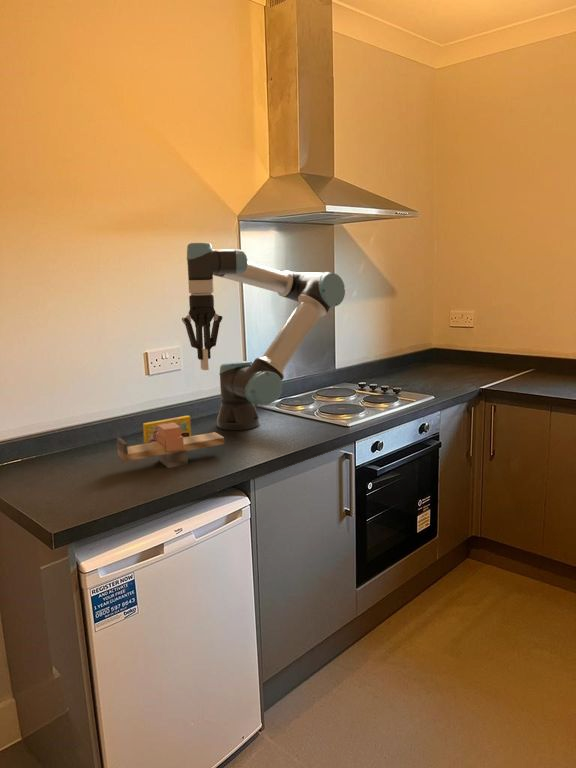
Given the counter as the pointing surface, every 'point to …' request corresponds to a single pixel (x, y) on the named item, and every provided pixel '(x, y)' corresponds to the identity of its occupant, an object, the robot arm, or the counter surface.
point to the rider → (170, 436)
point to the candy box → (152, 428)
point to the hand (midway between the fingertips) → (204, 369)
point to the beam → (169, 457)
